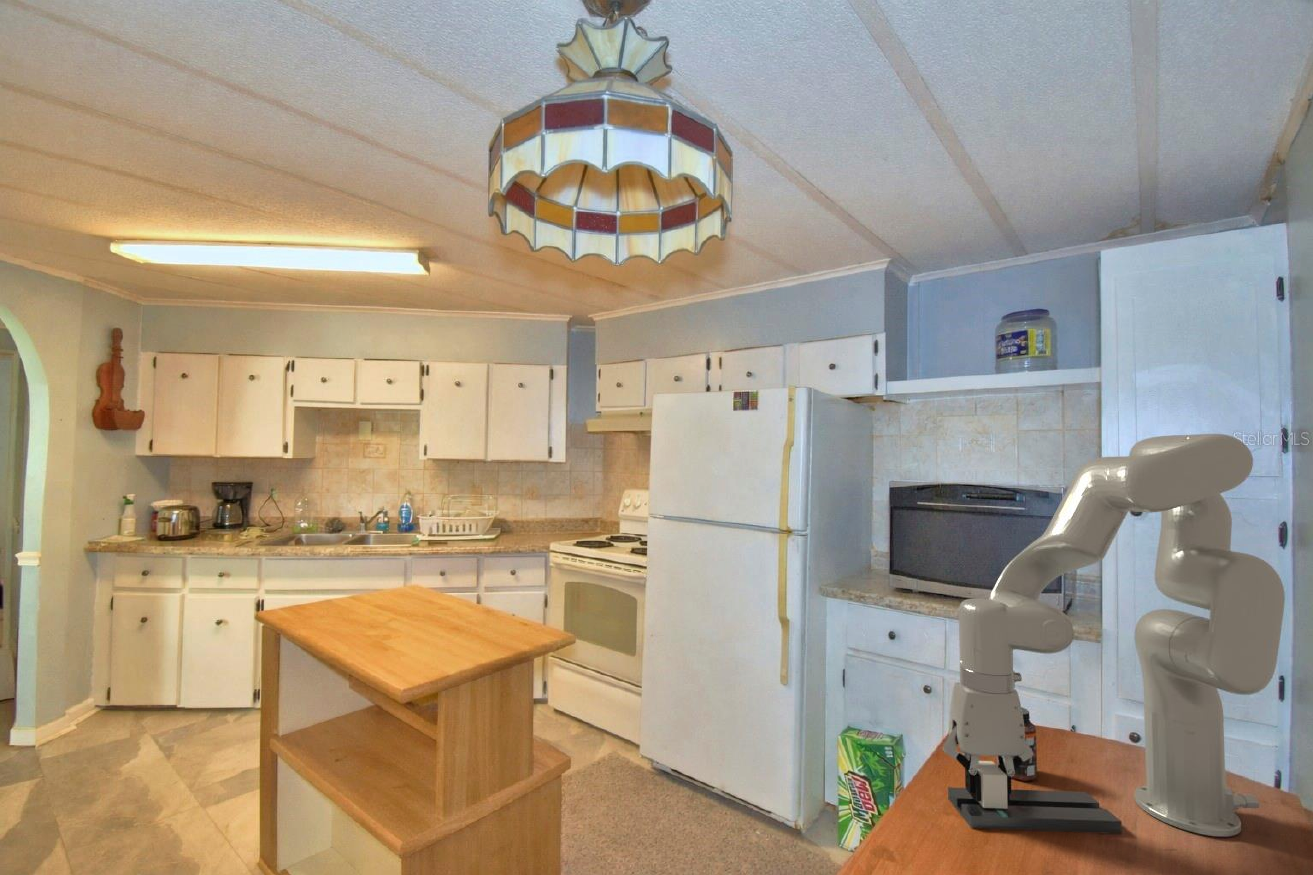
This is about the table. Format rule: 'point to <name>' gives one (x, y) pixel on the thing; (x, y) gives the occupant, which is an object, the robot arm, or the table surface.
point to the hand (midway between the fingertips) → (988, 795)
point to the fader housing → (1038, 812)
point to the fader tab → (992, 785)
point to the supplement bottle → (1029, 766)
